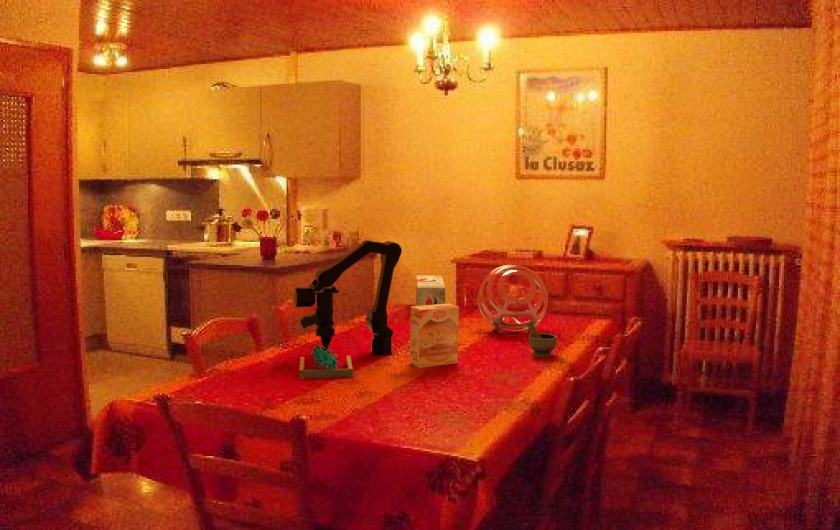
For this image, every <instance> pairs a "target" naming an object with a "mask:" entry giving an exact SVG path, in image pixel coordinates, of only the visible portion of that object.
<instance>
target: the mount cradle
mask: <svg viewBox="0 0 840 530" xmlns="http://www.w3.org/2000/svg"><path fill="white" fill-rule="evenodd" d="M299 359H300V360H299V370H298V373H299V380H303V379H304V380H305V379H307V380H309V379H310V380H311V379H341V378H342V379H345V378H346V379H347V378H353V377H354V371H353V370H354V368H353V364H352V358H351V355H346V367H347V368H336V369H329V368H328V369H324V368H322V369H318V368H317V369H305V357H304V356H300V358H299Z"/></svg>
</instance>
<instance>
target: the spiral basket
mask: <svg viewBox="0 0 840 530" xmlns="http://www.w3.org/2000/svg"><path fill="white" fill-rule="evenodd" d="M522 269H523V270H522ZM501 274H502V275H501ZM499 275H500V277H499V279H498V280H497V281H498V282H497V291H498V294H499V295H500V297H501V298H502V299H503V301H504V302H503V304H499V303H498V301H497V300H496V298H495V297H494V294H493V291H492V290H493V289H492V288H493V282H494V279H495V277H496V276H499ZM512 275H521V276H522V277H524V278H526V279H527V280H528V281H529V284H530V290H529V292H528V294H527V293H525V291H524V290H521V293H522V296H523V297H520V298H518V297H514V296H513V295H514V294H515V293H514V292H515V290H512V292H511V293H510V294H508V293H507V291H506V289H505V285H504V284H505V282H506V279H508V278H509V276H512ZM486 284H487V285H486ZM485 285H486V295H487V299H488V301H489V303H490V305H491V306H492V308H494V309H495V310H496V312H497V313H496V314H494V313H493V312H492V311H491V310H490V309H489V307H488V306H487V304H486V302H485V298H484V297H485V296H484V289H485ZM479 287H480V288H479V290H478V292H477V293H478V294H477V303H478V305H477V306H478V308H479V312H480V314H481V315H482V318H483V319H484V320H485V321H486V322H487V324H489V325H490V326H491V328H492V329H494V330H496V331H501V332H503V333H508V334H520V333H524V332H528V331H529V329H528V326H526V323H527V322H529V321H533V324H534V326H535V327H536V326H537V325H539V324H540V322H541V321H542V320H543V318H544V316H545V315H546V312H547V307H548V301H549V294H548V289H547V286H546V284H545V282H544V281H543V279H542V278H541V277H540V275H538V273H536V272H535V271H534V270H532V269H530V268H528V267H526V266H523V265H521V264H506V265H502V266H499V267H496V268H495V269H493V270H491V271H490V272H489V273H488V274H487V275H486V276H485V278H484V279H483V281H482V283H481V285H480V286H479ZM537 287H538V289H539V290H540V293H539V294H540V295H539V298H538V301H537V302H536V303H535V304H534V305H533V303H532V300H533V299H534V298H535V296H536V294H537V293H536V292H537ZM510 304H511V305H514V306H515V305H516V306H522V305H527V307H528V309H527V310H524V311H513V310H509V309H508V306H509V305H510ZM542 304H543V308H542V309H541V311H540V312H539V313H538V314H537V312H538V311H539V310H540V308H541V306H542ZM484 312H485V313H486V314H485V313H484ZM487 316H488V317H489V318H488V317H487ZM505 316H506V317H509V318H512V321H514V322H509V321H505V319H506V317H505ZM525 317H530V319H529V320H528V321H524V322H521V321H519V320H518V319H521V318H525ZM490 319H491V320H490ZM501 326H504V327H506V328H504V327H501ZM507 328H513V329H507ZM517 328H518V329H517ZM519 328H522V329H519Z"/></svg>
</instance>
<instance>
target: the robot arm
mask: <svg viewBox="0 0 840 530" xmlns="http://www.w3.org/2000/svg"><path fill="white" fill-rule="evenodd" d="M370 253H374V254H379V255H380V266H381V267H380V272H379V277H378V283H377V287H376V293H375V299H374V303H373V306H372V308H371V309H369V308H367V310H366V316H365V319H364V320H365V322H366V326H367V327H368V329H369V330H371V333H372V335H373V336H372V338H371V340H370V341H371V342H370V343H371V345H370V346H371V348H370V349H371V352H372V354H373V355H374V356H375V355H376V356H377V355H393V351H392V338H393V336H394V332H395V331H393V330H392V329H391V327H389V326H388V310H387V305H388V302H389V296H390V291H391V285H392V282H393V281H392V280H393V275H394V270H395V268H396V266H397V265H398V263H399V260H400V257H401V255H402V246H401V245H400V244H399V243H397V242H394V241H391V240H387V241H384V242H379V241H373V240H368V239H364V240H363V241H362V242H361V243H360V244H359V245H357V246H356V247H354V248H353V249H352V250H351V251H349V252H348V253H346V254H345V255H344V256H342V257H340V258H339V259H338V260H337V261H336V262H334V263H331V264H328V265H325V266H324V267H322V268H320V269H318V270H317V271H315V273H314V279H313V280H312V282H311V283H310V284H309V286H308V287H307V286H306V287H299V286H298V287H297V286H296V287H295V288H294V292H293V293H294V294H293V305H294V308H295V309H296V308H297V309H298V308H299V309H300V308H312V307H313V306H314V305H315V304H316V306H315V307H316V308H315V312H313V313H310V314H307V315H305V316H301V317H300V318H299V321H300V325H301V327H302V330H303V329H307V328H308V327H312V326H313V325H315V327H316V328H315V336H316V337H320V340H321V345H322V346H325V347H326V349H325V351H328V350H329V346H330V344H331V341H332V339H333V337H334V336H336V329H335V325H334V322H335V321H334V311H335V310H334V294H339V293H340V290H338V289H337V288H336V286H335V285H334V284H335V283H336V282H337V281H338V280H339V279H340V278H341V276H342V275H343V273H345V272H346V271H347V270H348V269H350V268H351V267H353V266H354V265H355V264H356V263H359V262H360V261H361V260H362V259H363V258H365V257H366V256H367V255H369V254H370Z"/></svg>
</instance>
